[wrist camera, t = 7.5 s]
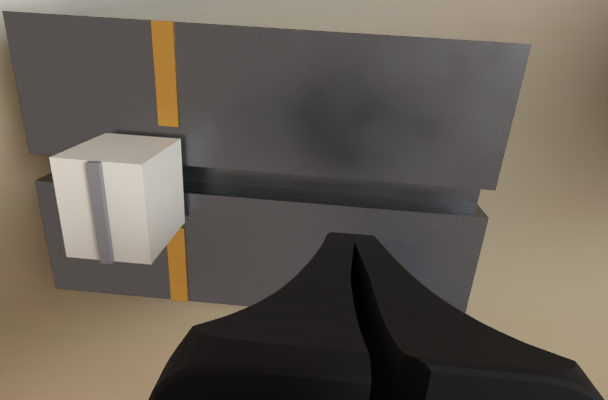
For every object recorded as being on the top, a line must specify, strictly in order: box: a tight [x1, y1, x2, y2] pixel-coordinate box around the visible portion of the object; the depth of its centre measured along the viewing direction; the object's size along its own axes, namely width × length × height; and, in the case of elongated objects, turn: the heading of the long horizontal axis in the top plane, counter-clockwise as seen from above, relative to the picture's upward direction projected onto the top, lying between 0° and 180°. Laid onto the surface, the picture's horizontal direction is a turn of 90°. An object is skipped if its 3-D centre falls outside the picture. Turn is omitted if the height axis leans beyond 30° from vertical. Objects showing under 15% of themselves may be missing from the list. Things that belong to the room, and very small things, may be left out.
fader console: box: [2, 11, 531, 313], centre depth 18 cm, size 12×19×3 cm, turn 87°
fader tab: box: [49, 133, 185, 265], centre depth 16 cm, size 4×3×5 cm
